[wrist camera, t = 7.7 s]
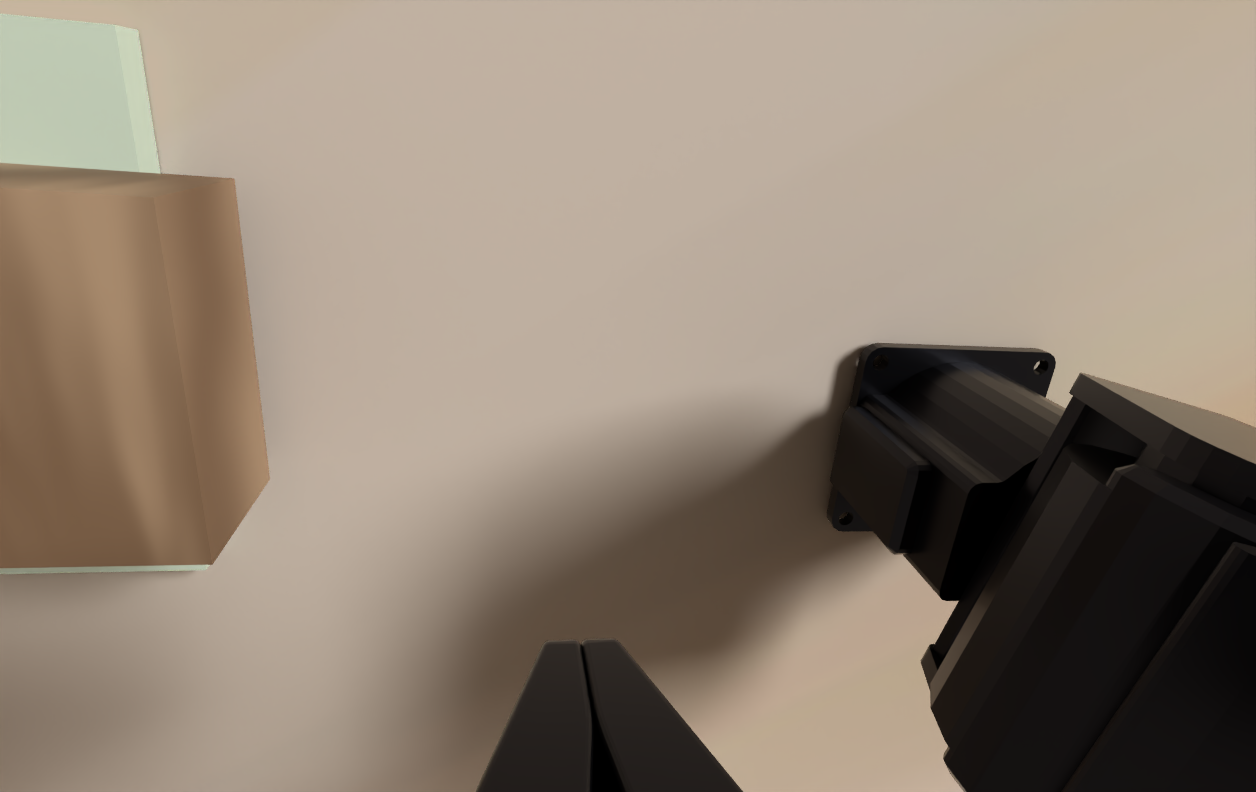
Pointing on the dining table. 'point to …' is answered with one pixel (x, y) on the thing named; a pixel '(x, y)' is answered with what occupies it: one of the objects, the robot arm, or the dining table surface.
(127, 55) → the rubber pad
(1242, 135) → the dining table surface
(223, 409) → the walnut block
